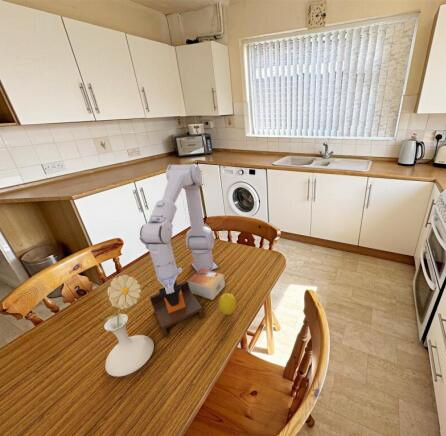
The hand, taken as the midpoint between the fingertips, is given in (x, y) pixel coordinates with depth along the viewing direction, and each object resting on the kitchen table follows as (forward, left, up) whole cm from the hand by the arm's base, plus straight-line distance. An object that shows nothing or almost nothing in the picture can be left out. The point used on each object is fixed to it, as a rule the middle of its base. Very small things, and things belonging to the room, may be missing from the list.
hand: (174, 296), depth 74 cm
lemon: (+10, +13, -8) cm, 18 cm away
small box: (-1, +15, -5) cm, 16 cm away
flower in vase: (+7, -14, -8) cm, 18 cm away
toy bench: (0, 0, -8) cm, 8 cm away
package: (0, 0, -4) cm, 4 cm away
